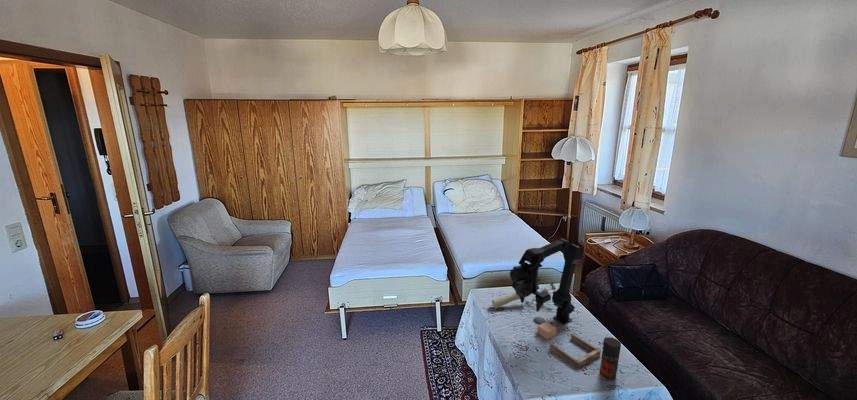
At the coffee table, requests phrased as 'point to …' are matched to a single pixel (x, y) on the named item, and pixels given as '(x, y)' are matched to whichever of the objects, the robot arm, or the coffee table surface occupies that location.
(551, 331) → the terracotta block
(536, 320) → the pad
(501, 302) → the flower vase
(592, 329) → the coffee table surface
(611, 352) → the deodorant
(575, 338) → the bay
